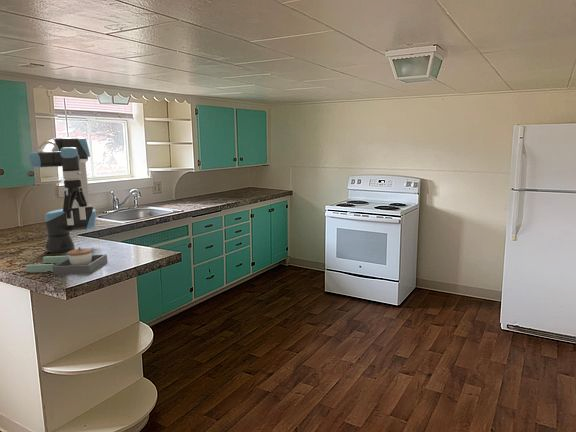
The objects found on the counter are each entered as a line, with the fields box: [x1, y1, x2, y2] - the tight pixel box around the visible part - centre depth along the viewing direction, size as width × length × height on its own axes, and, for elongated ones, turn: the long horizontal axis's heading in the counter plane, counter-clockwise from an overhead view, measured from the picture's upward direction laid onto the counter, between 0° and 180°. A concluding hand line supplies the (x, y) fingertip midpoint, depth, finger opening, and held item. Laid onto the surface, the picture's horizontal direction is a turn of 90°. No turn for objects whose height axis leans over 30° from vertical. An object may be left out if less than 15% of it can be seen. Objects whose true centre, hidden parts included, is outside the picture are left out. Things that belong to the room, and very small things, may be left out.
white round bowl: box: [67, 247, 93, 266], centre depth 218 cm, size 11×11×9 cm
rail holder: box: [25, 255, 69, 273], centre depth 222 cm, size 13×17×4 cm
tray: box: [52, 253, 108, 276], centre depth 218 cm, size 17×21×4 cm
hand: (77, 222), depth 221 cm, fingers open, 13 cm apart
